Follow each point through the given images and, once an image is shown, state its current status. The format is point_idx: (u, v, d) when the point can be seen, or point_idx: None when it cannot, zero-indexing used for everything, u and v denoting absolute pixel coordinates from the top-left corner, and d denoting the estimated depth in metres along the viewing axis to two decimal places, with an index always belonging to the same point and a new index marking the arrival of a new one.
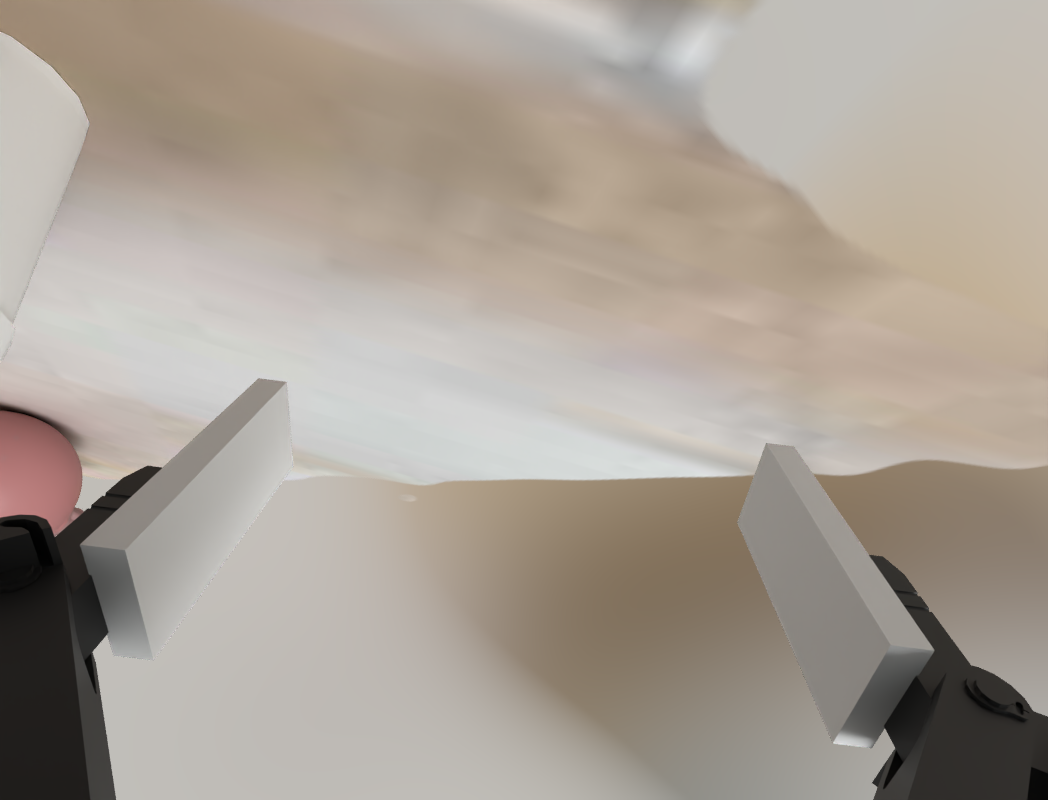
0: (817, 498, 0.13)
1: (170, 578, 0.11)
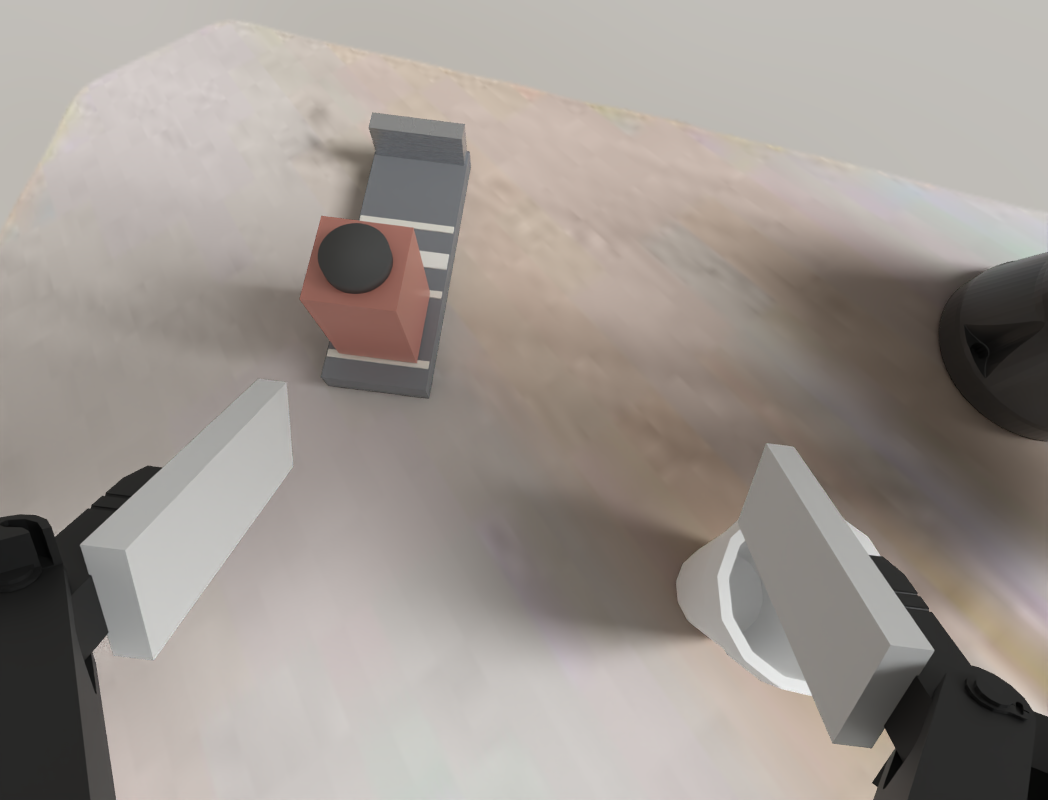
0: (817, 498, 0.13)
1: (170, 578, 0.11)
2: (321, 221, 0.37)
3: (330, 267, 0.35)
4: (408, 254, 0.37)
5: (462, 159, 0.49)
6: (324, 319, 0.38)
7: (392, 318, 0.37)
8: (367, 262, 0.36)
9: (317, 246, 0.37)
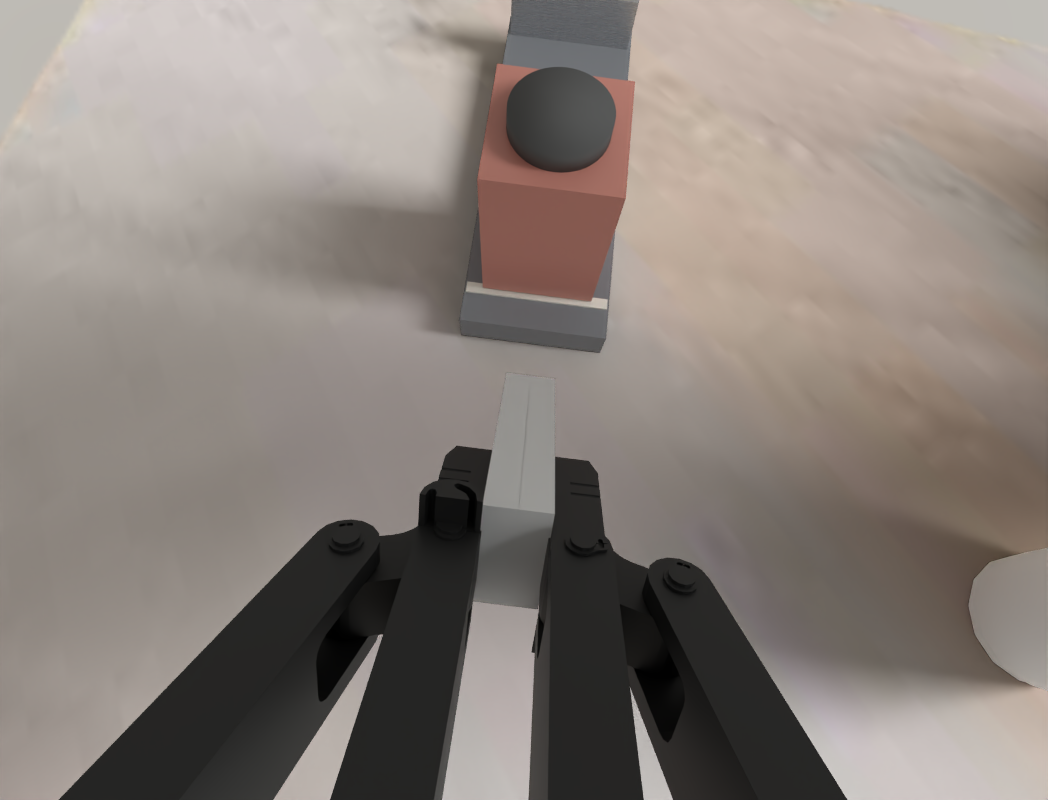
0: (543, 414, 0.15)
1: None
2: (498, 71, 0.25)
3: (528, 128, 0.23)
4: None
5: (628, 38, 0.37)
6: (495, 221, 0.26)
7: (609, 213, 0.24)
8: (583, 122, 0.23)
9: (496, 104, 0.24)
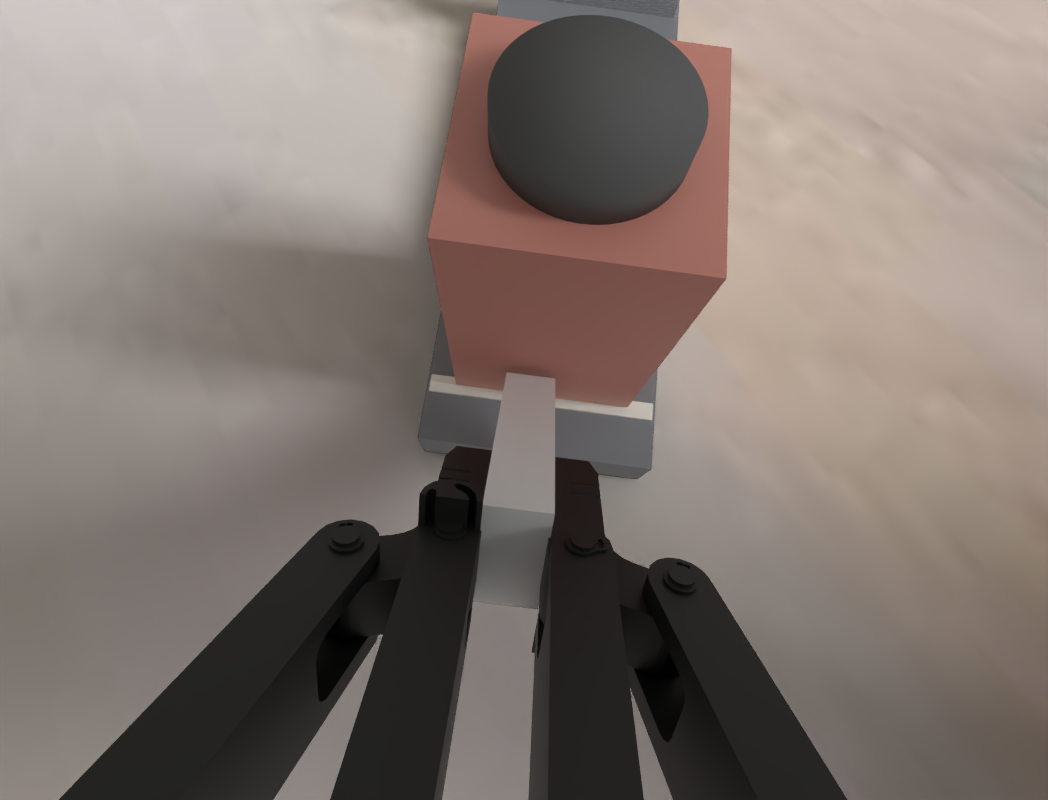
0: (543, 414, 0.15)
1: None
2: (474, 26, 0.13)
3: (531, 136, 0.11)
4: None
5: (676, 0, 0.25)
6: (469, 305, 0.14)
7: (687, 300, 0.13)
8: (643, 124, 0.11)
9: (468, 89, 0.13)
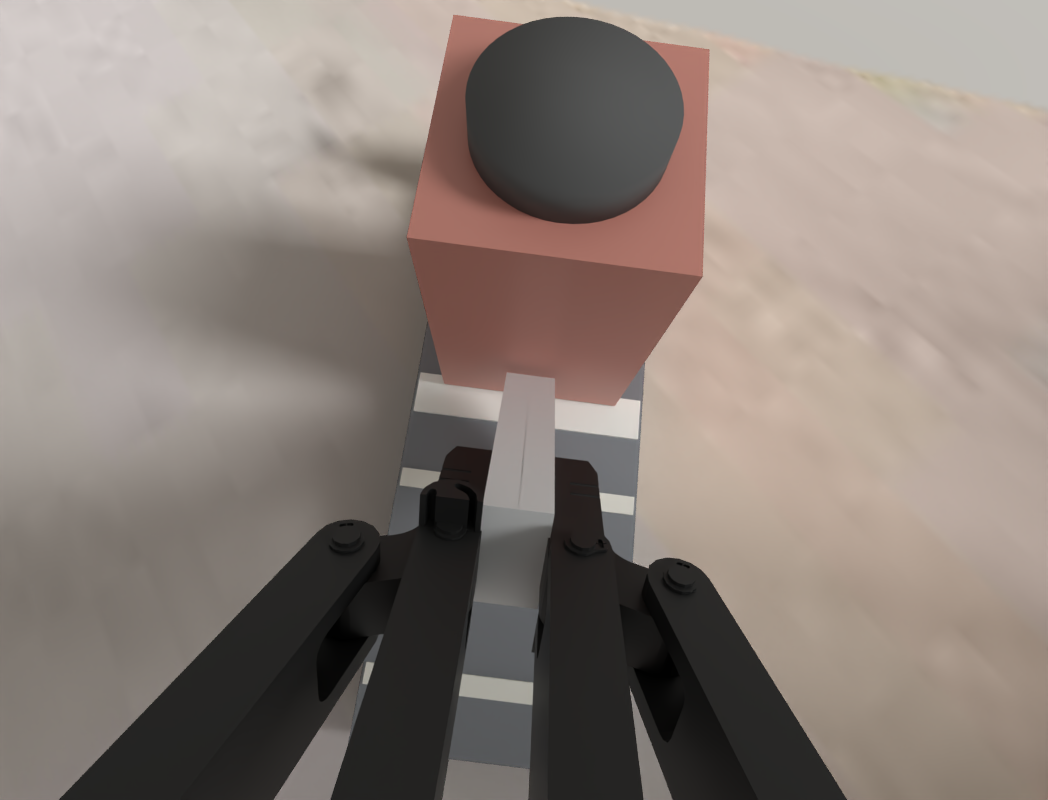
0: (543, 414, 0.15)
1: None
2: (454, 28, 0.13)
3: (508, 136, 0.11)
4: None
5: None
6: (452, 304, 0.14)
7: (665, 298, 0.13)
8: (619, 124, 0.12)
9: (449, 91, 0.13)
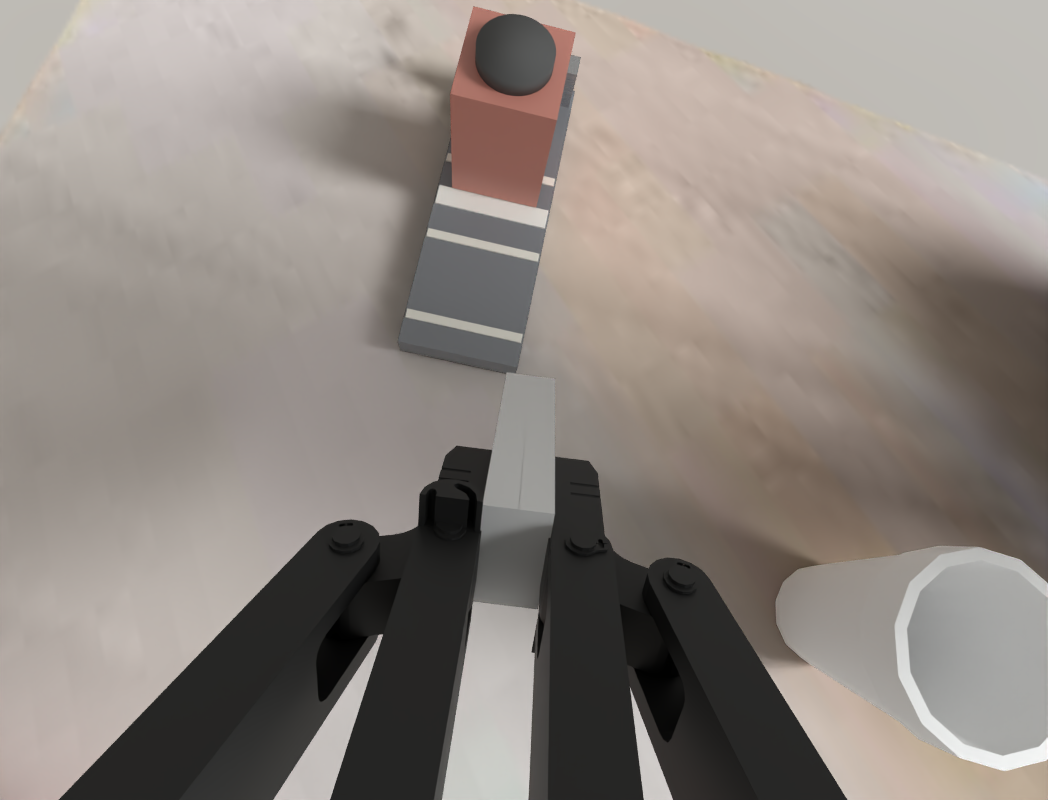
0: (543, 414, 0.15)
1: None
2: (473, 12, 0.33)
3: (490, 59, 0.31)
4: None
5: (569, 99, 0.42)
6: (462, 130, 0.34)
7: (546, 131, 0.33)
8: (531, 59, 0.32)
9: (469, 38, 0.33)
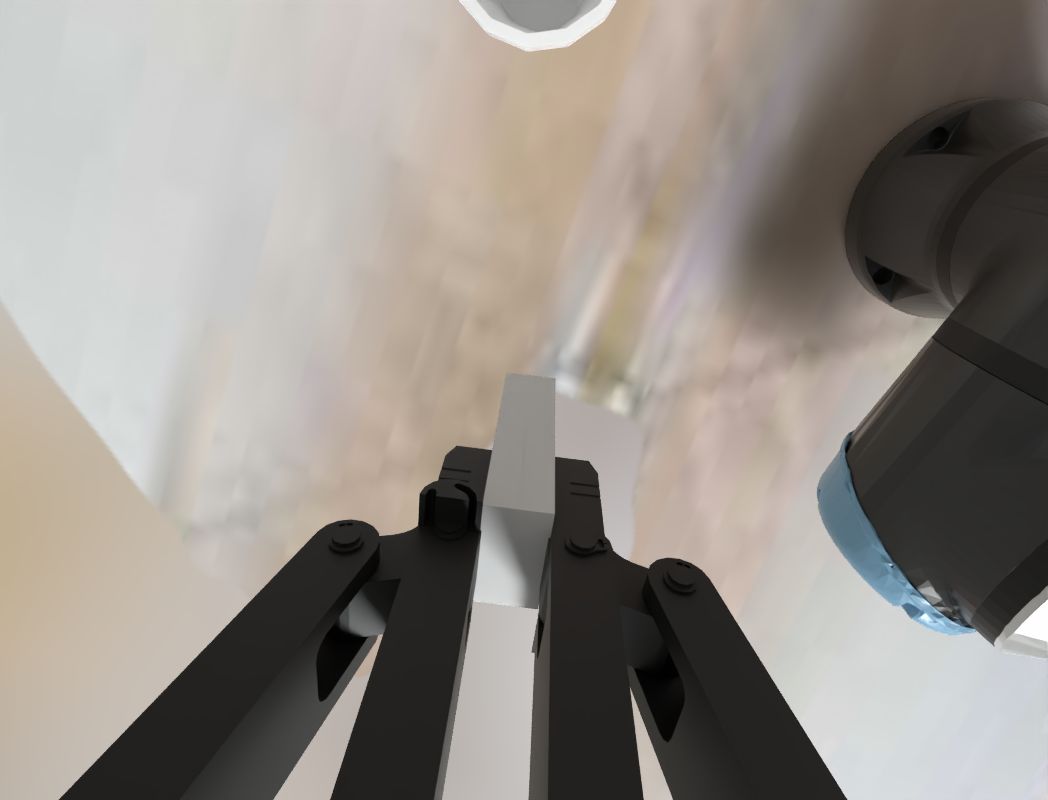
0: (543, 414, 0.15)
1: None
2: None
3: None
4: None
5: None
6: None
7: None
8: None
9: None
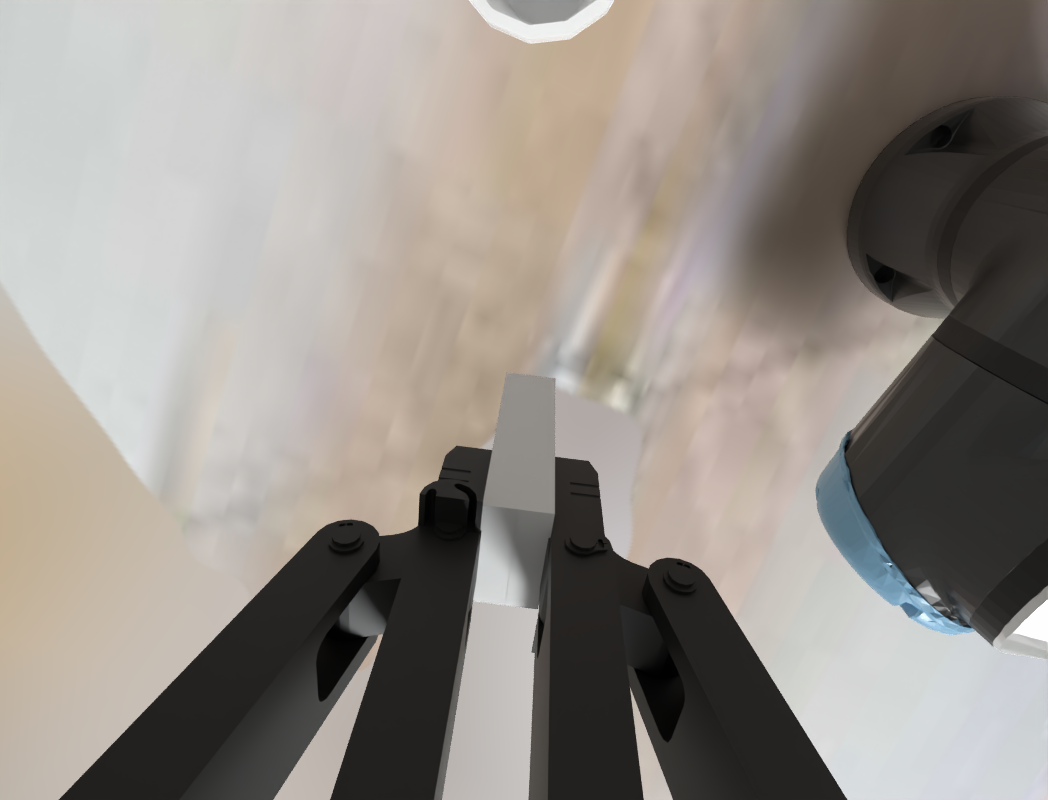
0: (543, 414, 0.15)
1: None
2: None
3: None
4: None
5: None
6: None
7: None
8: None
9: None
